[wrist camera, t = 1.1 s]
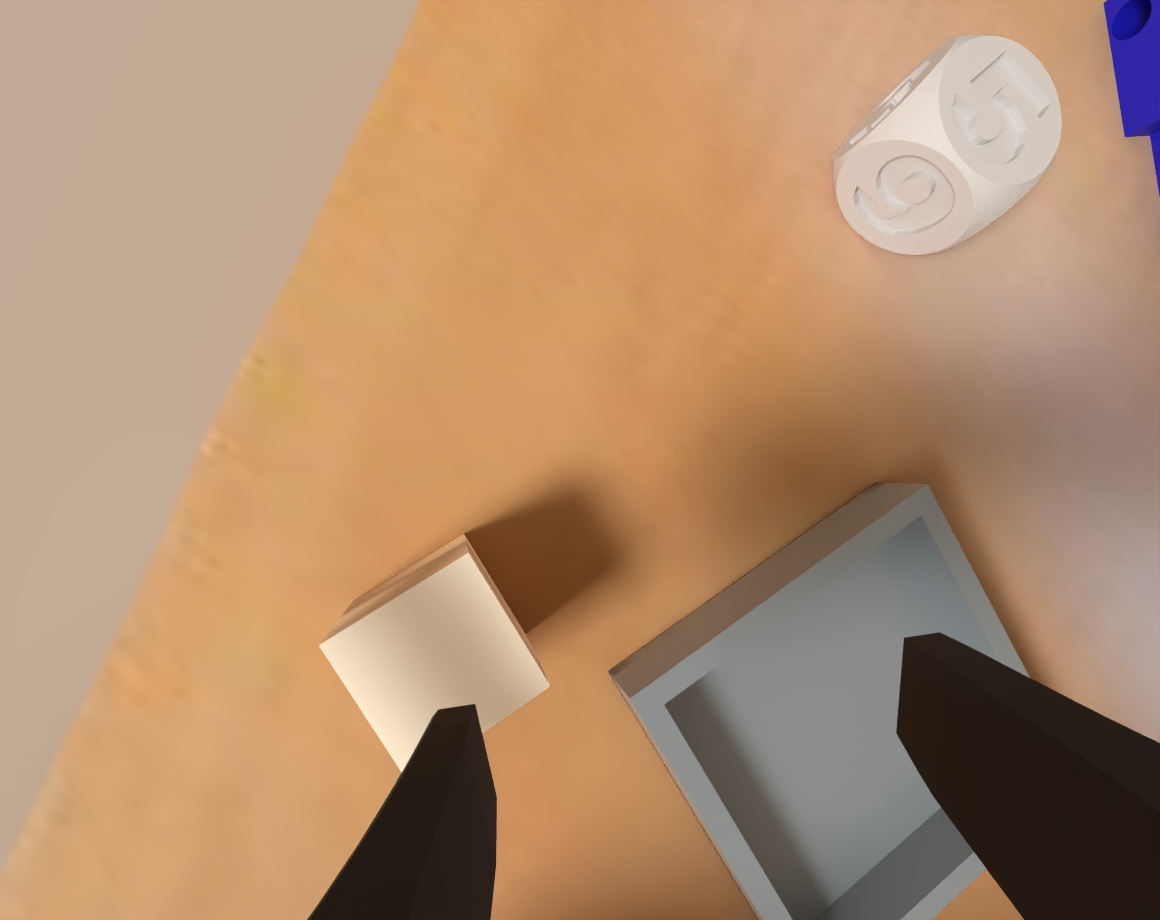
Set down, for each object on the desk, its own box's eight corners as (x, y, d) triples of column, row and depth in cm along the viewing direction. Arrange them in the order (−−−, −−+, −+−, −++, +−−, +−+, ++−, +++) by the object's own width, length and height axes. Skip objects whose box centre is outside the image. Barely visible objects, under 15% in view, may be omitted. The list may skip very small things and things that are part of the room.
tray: (780, 957, 21) (823, 1020, 19) (608, 672, 20) (630, 698, 18) (1018, 747, 24) (1082, 778, 21) (876, 482, 23) (927, 483, 20)
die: (959, 188, 24) (1089, 114, 19) (894, 275, 23) (1012, 221, 18) (877, 99, 23) (991, -1, 18) (807, 185, 22) (906, 104, 18)
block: (420, 704, 19) (409, 784, 14) (353, 600, 19) (319, 645, 14) (525, 633, 20) (550, 686, 15) (463, 533, 19) (468, 552, 14)
